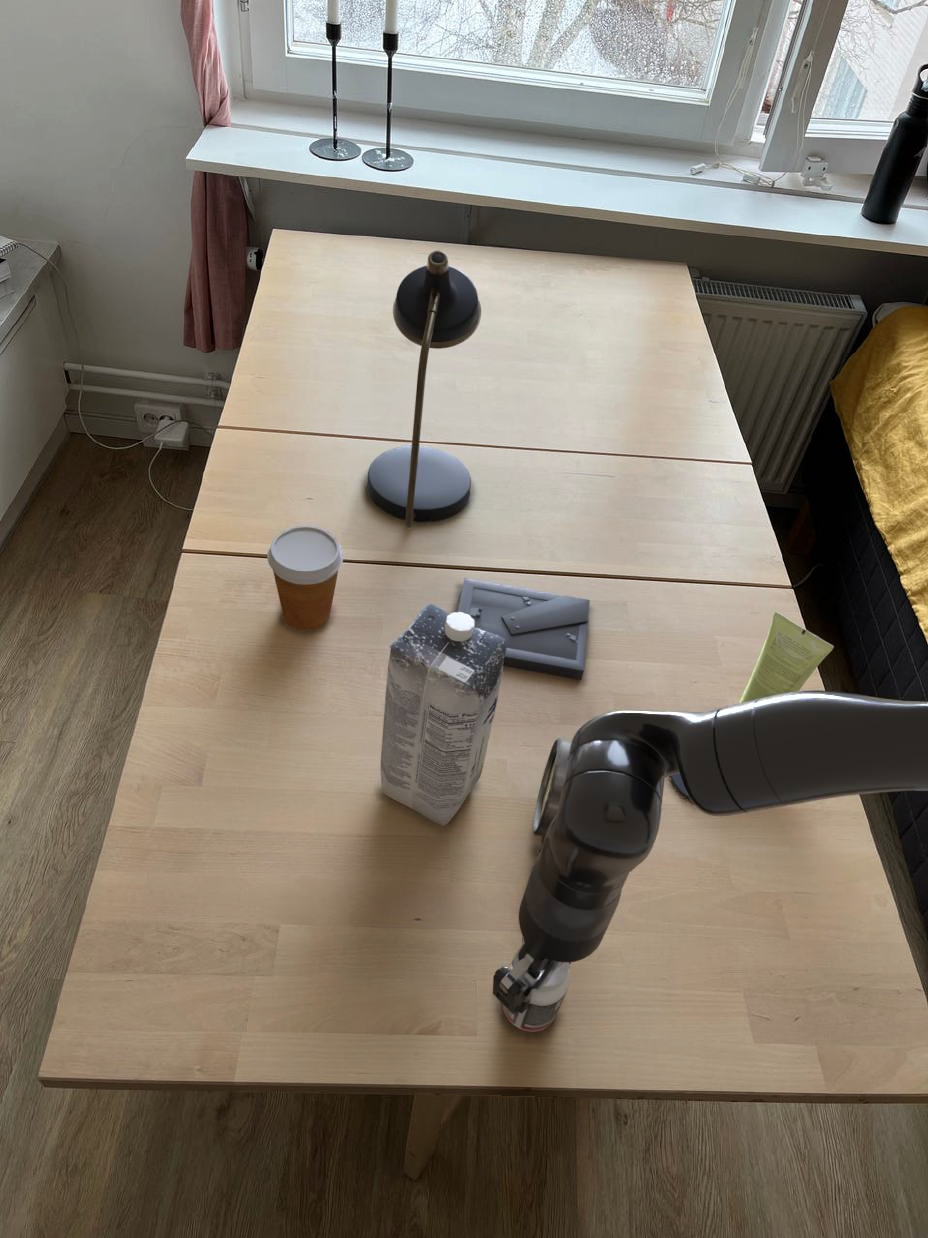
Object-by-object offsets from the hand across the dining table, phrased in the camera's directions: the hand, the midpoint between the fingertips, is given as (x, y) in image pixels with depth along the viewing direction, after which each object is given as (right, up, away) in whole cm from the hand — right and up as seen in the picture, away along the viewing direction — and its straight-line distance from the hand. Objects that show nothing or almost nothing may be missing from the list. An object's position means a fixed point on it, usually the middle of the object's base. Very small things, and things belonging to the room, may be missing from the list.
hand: (538, 981), depth 93 cm
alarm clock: (+3, +11, +19) cm, 22 cm away
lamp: (-14, +54, +57) cm, 80 cm away
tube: (+29, +20, +31) cm, 48 cm away
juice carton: (-11, +15, +20) cm, 28 cm away
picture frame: (+1, +33, +39) cm, 51 cm away
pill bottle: (-1, -4, +4) cm, 6 cm away
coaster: (+22, +16, +26) cm, 38 cm away
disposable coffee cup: (-28, +35, +38) cm, 59 cm away
